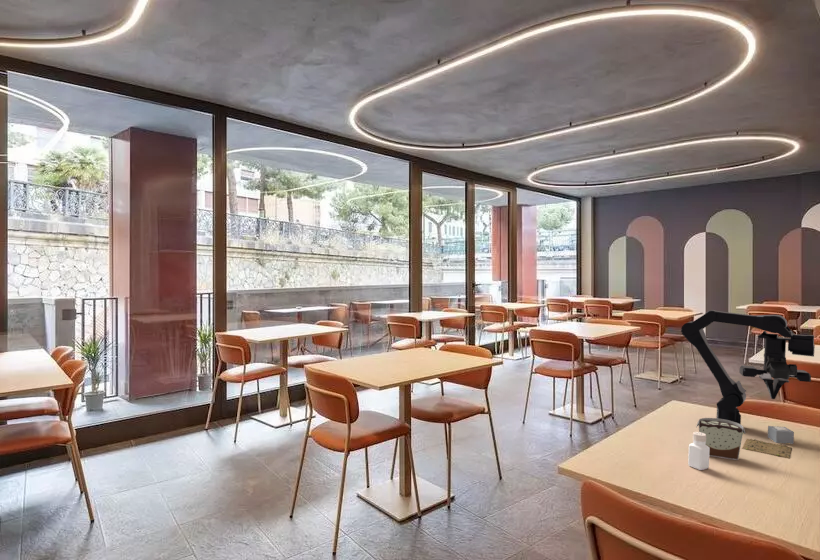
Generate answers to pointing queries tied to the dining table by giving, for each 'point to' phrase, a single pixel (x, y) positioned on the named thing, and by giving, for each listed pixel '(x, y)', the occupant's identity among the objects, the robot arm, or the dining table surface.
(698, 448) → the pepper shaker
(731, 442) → the food container
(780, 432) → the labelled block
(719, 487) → the dining table surface
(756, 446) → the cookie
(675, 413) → the dining table surface
